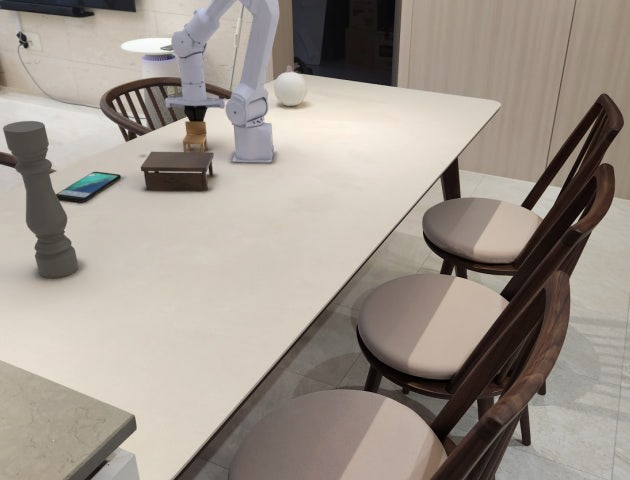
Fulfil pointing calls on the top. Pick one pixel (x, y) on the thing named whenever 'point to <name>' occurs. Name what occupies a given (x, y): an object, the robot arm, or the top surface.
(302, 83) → the ornament
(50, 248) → the candle holder
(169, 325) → the top surface
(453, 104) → the top surface
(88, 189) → the smartphone
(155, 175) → the desk
